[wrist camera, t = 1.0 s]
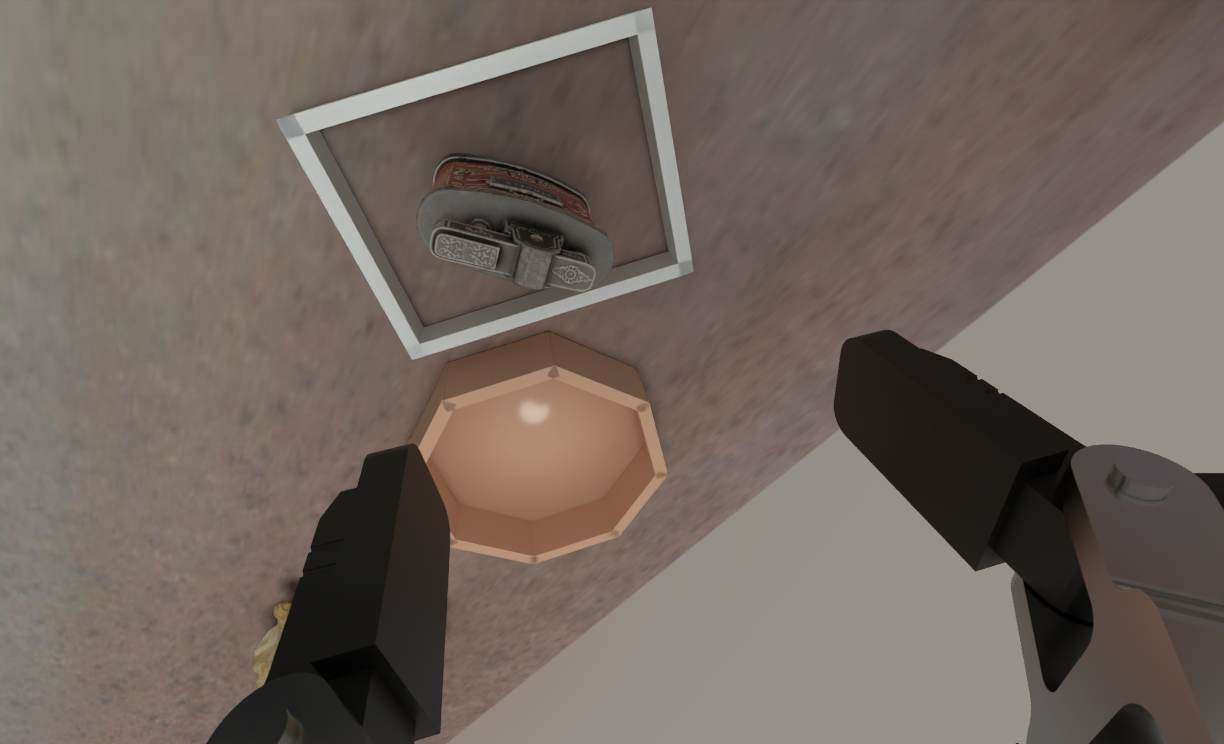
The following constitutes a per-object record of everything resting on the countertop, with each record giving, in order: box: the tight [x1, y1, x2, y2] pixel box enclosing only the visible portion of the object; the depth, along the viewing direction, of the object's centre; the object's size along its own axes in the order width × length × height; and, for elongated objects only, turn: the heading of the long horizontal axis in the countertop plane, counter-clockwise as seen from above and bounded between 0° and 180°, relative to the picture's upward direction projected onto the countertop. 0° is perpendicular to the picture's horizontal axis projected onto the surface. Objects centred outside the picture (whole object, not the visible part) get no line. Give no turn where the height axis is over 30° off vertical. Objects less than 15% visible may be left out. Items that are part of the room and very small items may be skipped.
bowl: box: [408, 331, 668, 564], centre depth 34 cm, size 16×16×4 cm
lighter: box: [416, 153, 615, 292], centre depth 23 cm, size 8×3×10 cm, turn 71°
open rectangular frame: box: [276, 7, 694, 360], centre depth 26 cm, size 17×13×2 cm
